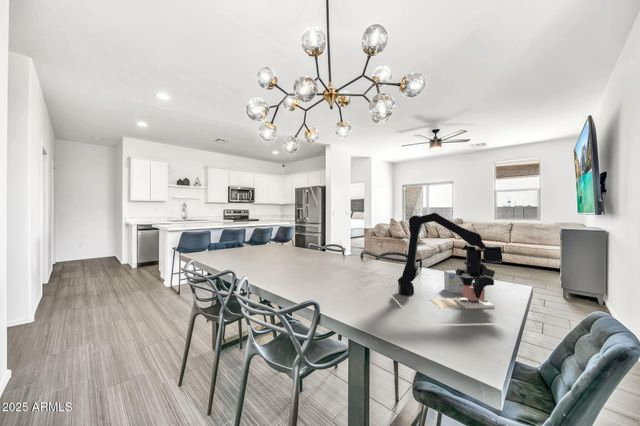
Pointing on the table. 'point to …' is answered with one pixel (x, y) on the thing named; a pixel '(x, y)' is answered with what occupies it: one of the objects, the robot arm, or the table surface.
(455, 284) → the light bulb box
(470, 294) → the pink block
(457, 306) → the pad
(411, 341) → the table surface
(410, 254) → the robot arm
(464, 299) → the panel
